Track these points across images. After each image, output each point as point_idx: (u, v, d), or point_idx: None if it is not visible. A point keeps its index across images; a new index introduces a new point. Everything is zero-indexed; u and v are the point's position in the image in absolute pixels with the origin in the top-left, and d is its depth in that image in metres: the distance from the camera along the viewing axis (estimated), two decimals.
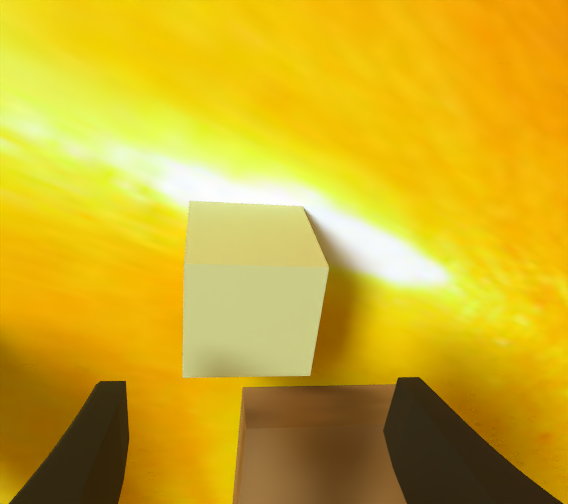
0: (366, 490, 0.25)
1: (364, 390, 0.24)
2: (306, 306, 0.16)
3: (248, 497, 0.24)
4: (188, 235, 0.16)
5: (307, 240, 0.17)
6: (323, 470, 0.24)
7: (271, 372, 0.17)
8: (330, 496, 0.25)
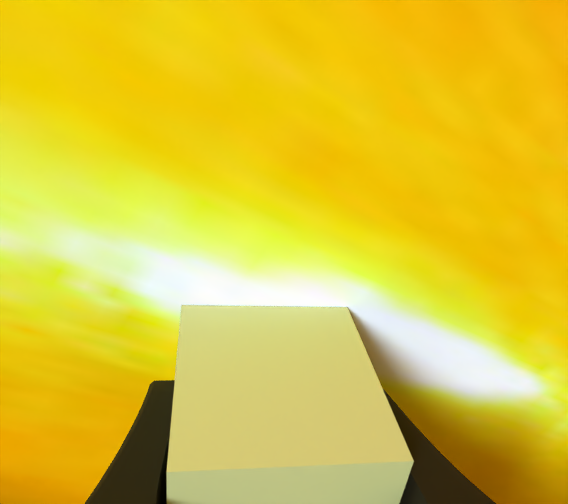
0: None
1: None
2: None
3: None
4: (176, 390, 0.10)
5: (367, 389, 0.11)
6: None
7: None
8: None
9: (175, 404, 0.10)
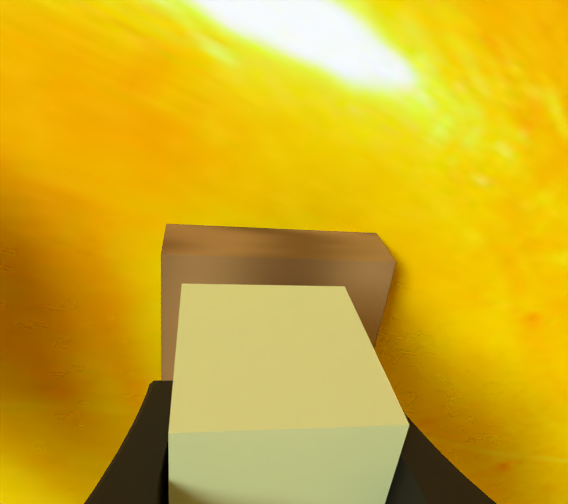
0: None
1: (315, 234, 0.20)
2: (368, 478, 0.10)
3: (172, 357, 0.20)
4: (177, 360, 0.10)
5: (363, 360, 0.11)
6: None
7: None
8: None
9: (176, 373, 0.10)
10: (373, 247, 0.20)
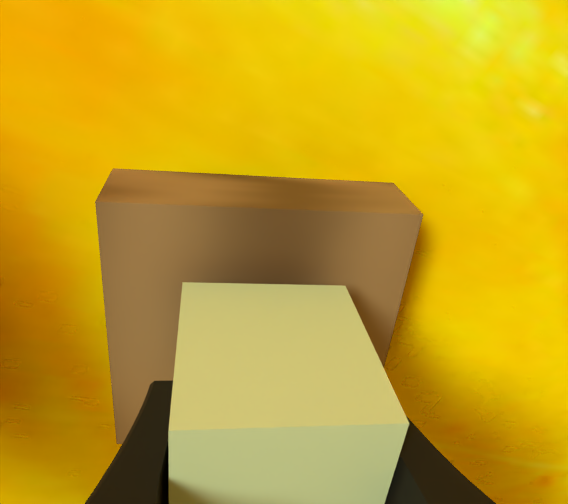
0: None
1: (312, 183, 0.15)
2: (368, 476, 0.10)
3: (122, 347, 0.15)
4: (178, 358, 0.10)
5: (364, 359, 0.11)
6: None
7: None
8: None
9: (177, 370, 0.10)
10: (390, 198, 0.15)
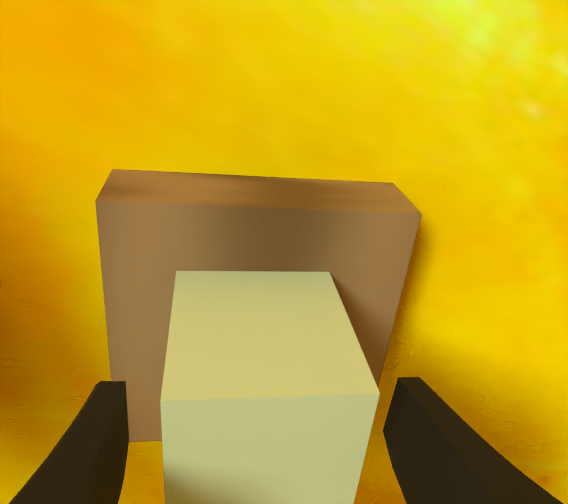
0: None
1: (311, 182, 0.15)
2: (345, 443, 0.11)
3: (123, 346, 0.15)
4: (170, 339, 0.11)
5: (342, 337, 0.12)
6: None
7: None
8: None
9: (169, 349, 0.11)
10: (389, 197, 0.15)
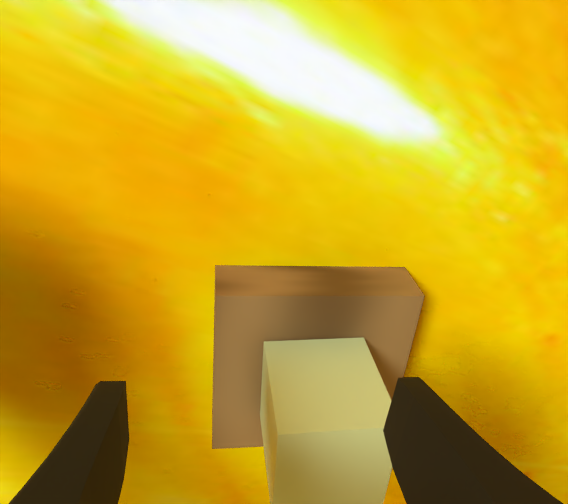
0: None
1: (348, 270, 0.22)
2: (381, 455, 0.18)
3: (223, 384, 0.22)
4: (273, 393, 0.18)
5: (377, 388, 0.19)
6: None
7: None
8: None
9: (274, 401, 0.18)
10: (402, 281, 0.22)
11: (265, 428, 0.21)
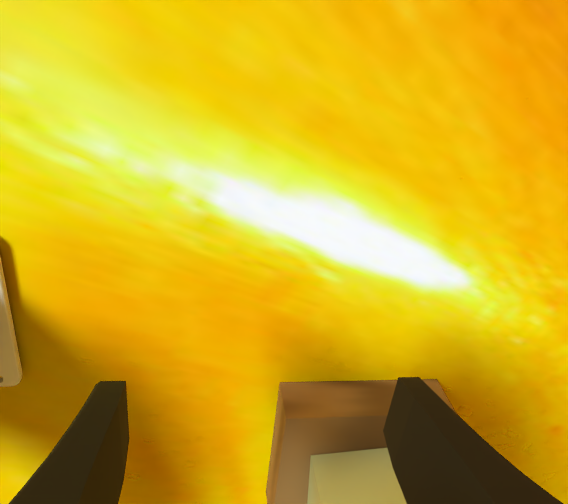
0: None
1: (390, 384, 0.27)
2: None
3: (284, 482, 0.26)
4: None
5: None
6: None
7: None
8: None
9: None
10: None
11: None
